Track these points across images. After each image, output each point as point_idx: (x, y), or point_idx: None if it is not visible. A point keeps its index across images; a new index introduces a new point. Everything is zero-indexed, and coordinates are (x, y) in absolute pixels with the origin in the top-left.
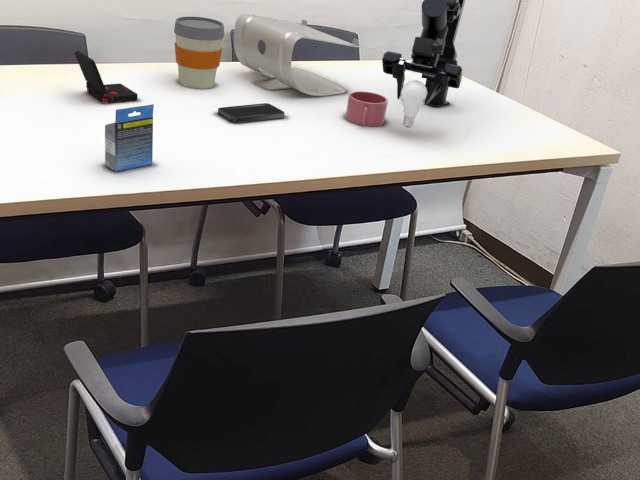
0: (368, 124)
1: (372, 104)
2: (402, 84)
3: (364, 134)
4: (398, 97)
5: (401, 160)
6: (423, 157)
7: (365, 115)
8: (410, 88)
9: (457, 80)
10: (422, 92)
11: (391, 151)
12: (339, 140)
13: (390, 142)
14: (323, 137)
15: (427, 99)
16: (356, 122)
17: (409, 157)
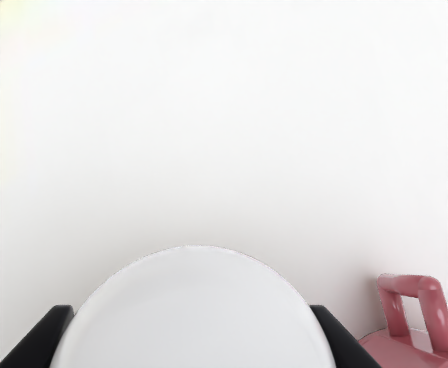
0: (368, 338)
1: (433, 365)
2: None
3: (340, 210)
4: (310, 306)
5: (145, 10)
6: (66, 83)
7: (405, 277)
8: (240, 278)
9: None
10: (92, 311)
11: (198, 80)
12: (388, 88)
13: (225, 180)
14: (440, 87)
15: (40, 329)
16: (417, 329)
17: (121, 54)
